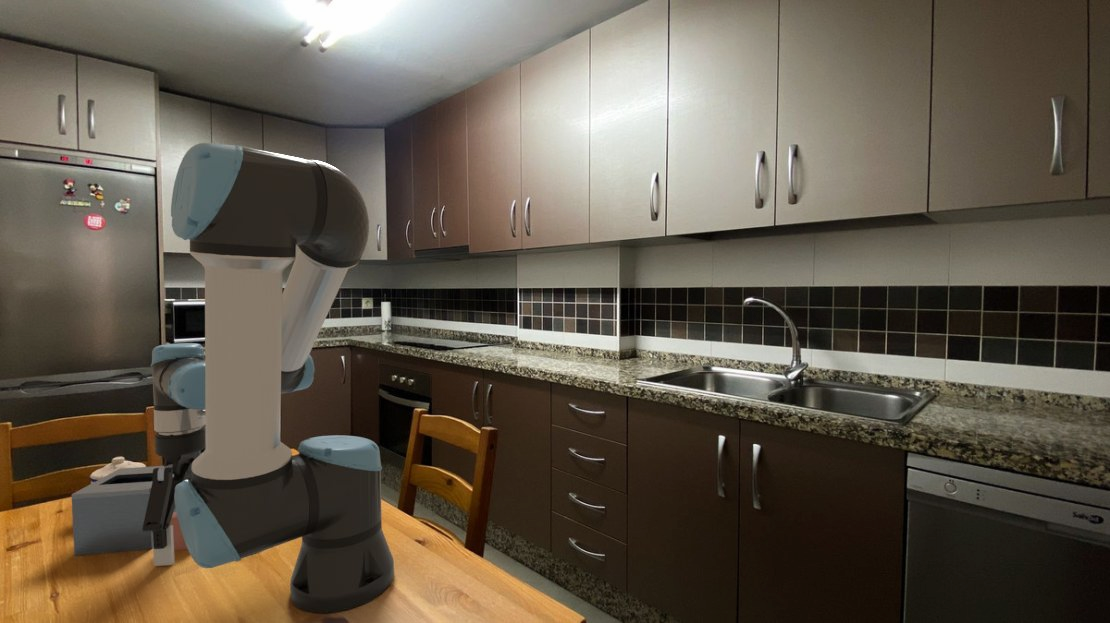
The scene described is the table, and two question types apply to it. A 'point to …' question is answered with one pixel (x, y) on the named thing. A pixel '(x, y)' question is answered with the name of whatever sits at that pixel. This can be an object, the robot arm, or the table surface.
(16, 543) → the table surface
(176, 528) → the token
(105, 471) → the teacup with lid
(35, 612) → the table surface
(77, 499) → the grey hollow block
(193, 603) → the table surface
